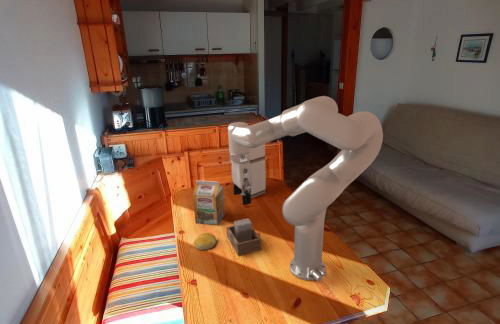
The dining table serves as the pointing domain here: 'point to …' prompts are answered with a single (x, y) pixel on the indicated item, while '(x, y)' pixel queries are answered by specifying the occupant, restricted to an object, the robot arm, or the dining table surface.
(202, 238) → the bread roll
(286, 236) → the dining table surface
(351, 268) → the dining table surface
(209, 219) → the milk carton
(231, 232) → the open box
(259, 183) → the light grey boxy piece
